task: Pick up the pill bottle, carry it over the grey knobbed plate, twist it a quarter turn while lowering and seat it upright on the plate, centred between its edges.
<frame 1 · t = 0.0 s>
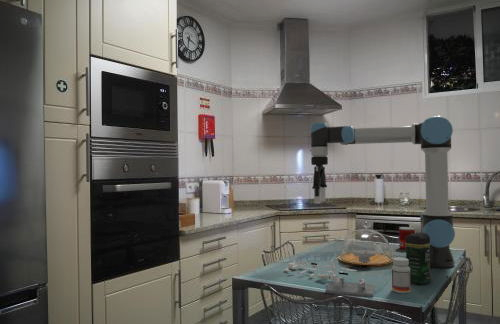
hand: (320, 202, 186), 28 cm above the table, tool pointing down, fingers open, 13 cm apart
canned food: (407, 248, 217), on the table
showerhead: (364, 266, 179), on the table
pill bottle: (401, 291, 142), on the table
miniature set: (314, 275, 164), on the table, touching grey knobbed plate
coffee jar: (418, 282, 153), on the table
grey knobbed plate: (350, 289, 144), on the table
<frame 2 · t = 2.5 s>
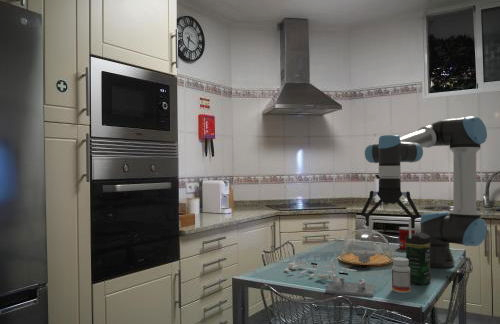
hand: (389, 236, 145), 19 cm above the table, tool pointing down, fingers open, 13 cm apart
nothing on the table moved.
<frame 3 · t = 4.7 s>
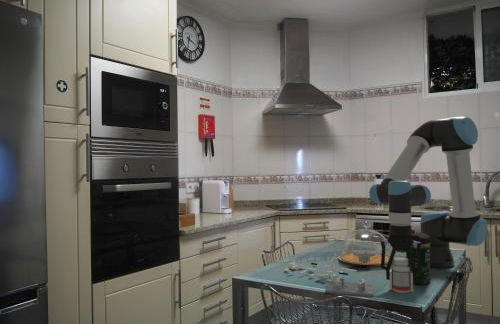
hand: (401, 289, 142), 0 cm above the table, tool pointing down, fingers closed on pill bottle, 6 cm apart
pill bottle: (401, 291, 142), on the table, touching gripper
everything else where it was.
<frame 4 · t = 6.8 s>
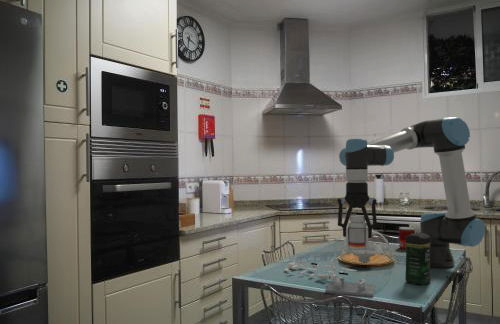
hand: (357, 246, 143), 16 cm above the table, tool pointing down, fingers closed on pill bottle, 6 cm apart
pill bottle: (357, 248, 143), point 15 cm above the table, touching gripper
everything else where it was.
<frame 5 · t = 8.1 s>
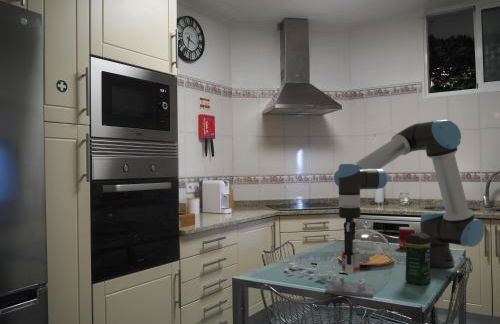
hand: (350, 270, 144), 7 cm above the table, tool pointing down, fingers closed on pill bottle, 6 cm apart
pill bottle: (350, 272, 144), point 6 cm above the table, touching gripper
everything else where it was.
when the fingers open (3 cm above the table, at t = 9.1 s): pill bottle drops 2 cm, resting on grey knobbed plate.
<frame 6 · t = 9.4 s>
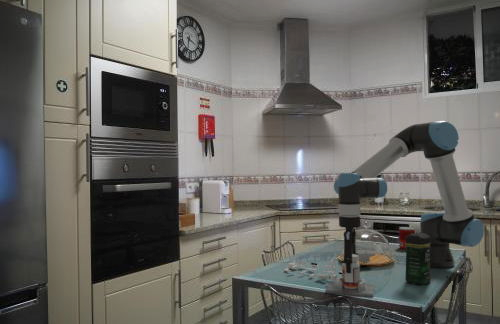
hand: (350, 277, 144), 4 cm above the table, tool pointing down, fingers open, 10 cm apart
pill bottle: (351, 287, 144), point 1 cm above the table, touching grey knobbed plate
everything else where it was.
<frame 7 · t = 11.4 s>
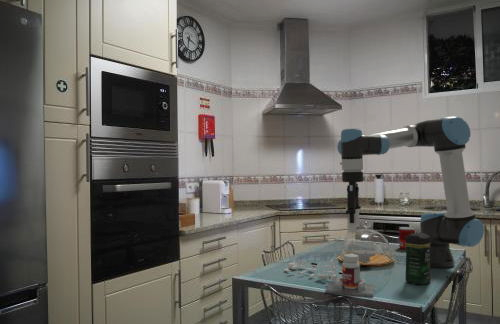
hand: (354, 229, 147), 21 cm above the table, tool pointing down, fingers open, 13 cm apart
nothing on the table moved.
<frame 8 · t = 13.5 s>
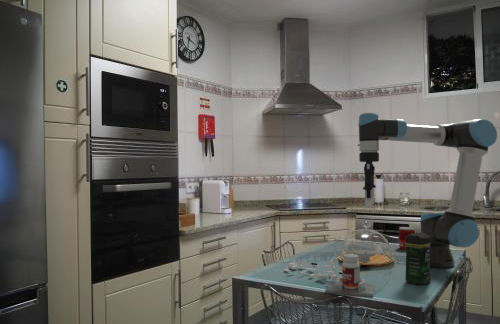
hand: (369, 205, 160), 29 cm above the table, tool pointing down, fingers open, 13 cm apart
nothing on the table moved.
at the end: pill bottle 0.1 cm off-centre on the grey knobbed plate, point 0.8 cm above the grey knobbed plate's base; pill bottle tilted 0°; the gripper is holding nothing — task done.
